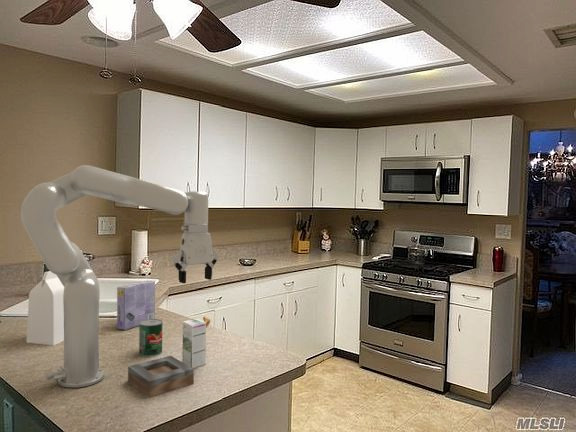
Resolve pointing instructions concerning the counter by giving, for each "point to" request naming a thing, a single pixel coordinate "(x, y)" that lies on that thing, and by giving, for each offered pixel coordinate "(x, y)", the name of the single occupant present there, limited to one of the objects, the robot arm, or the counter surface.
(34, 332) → the milk
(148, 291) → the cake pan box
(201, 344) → the syrup box
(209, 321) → the figurine
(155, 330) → the canned tomato
